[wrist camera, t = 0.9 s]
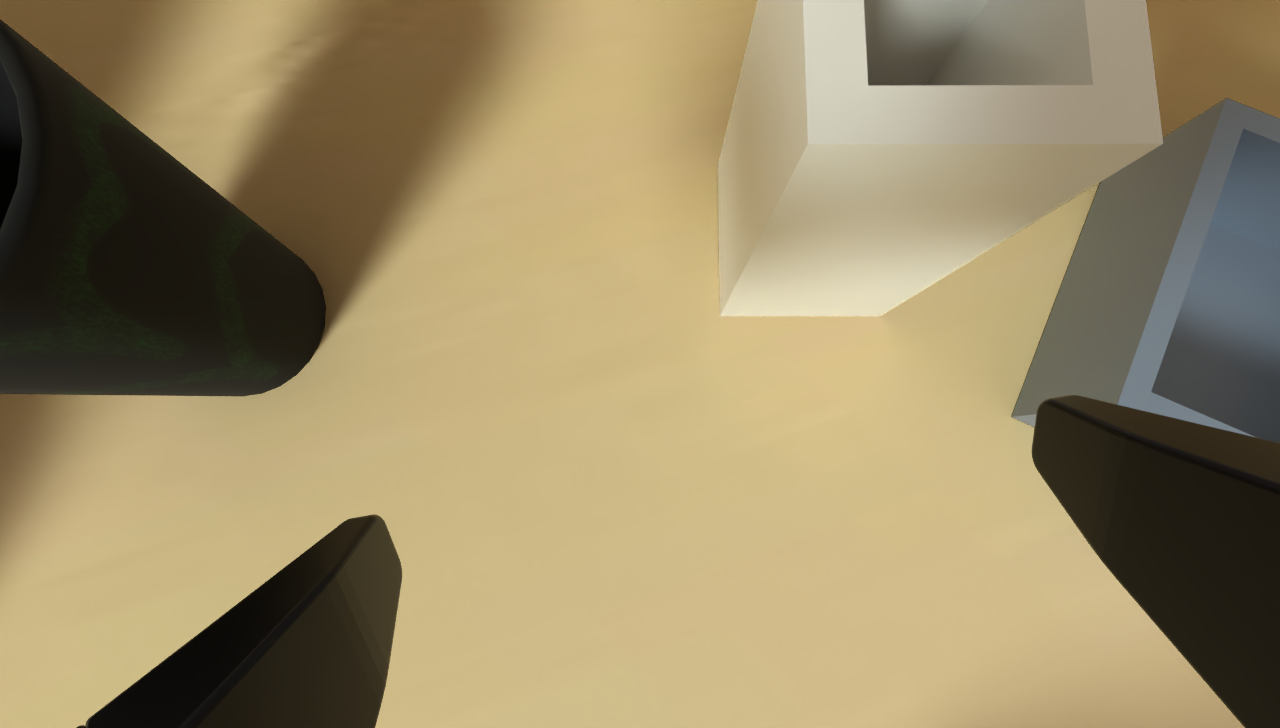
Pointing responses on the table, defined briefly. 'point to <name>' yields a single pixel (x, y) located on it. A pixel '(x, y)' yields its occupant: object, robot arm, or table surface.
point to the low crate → (1177, 283)
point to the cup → (130, 258)
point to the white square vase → (916, 140)
